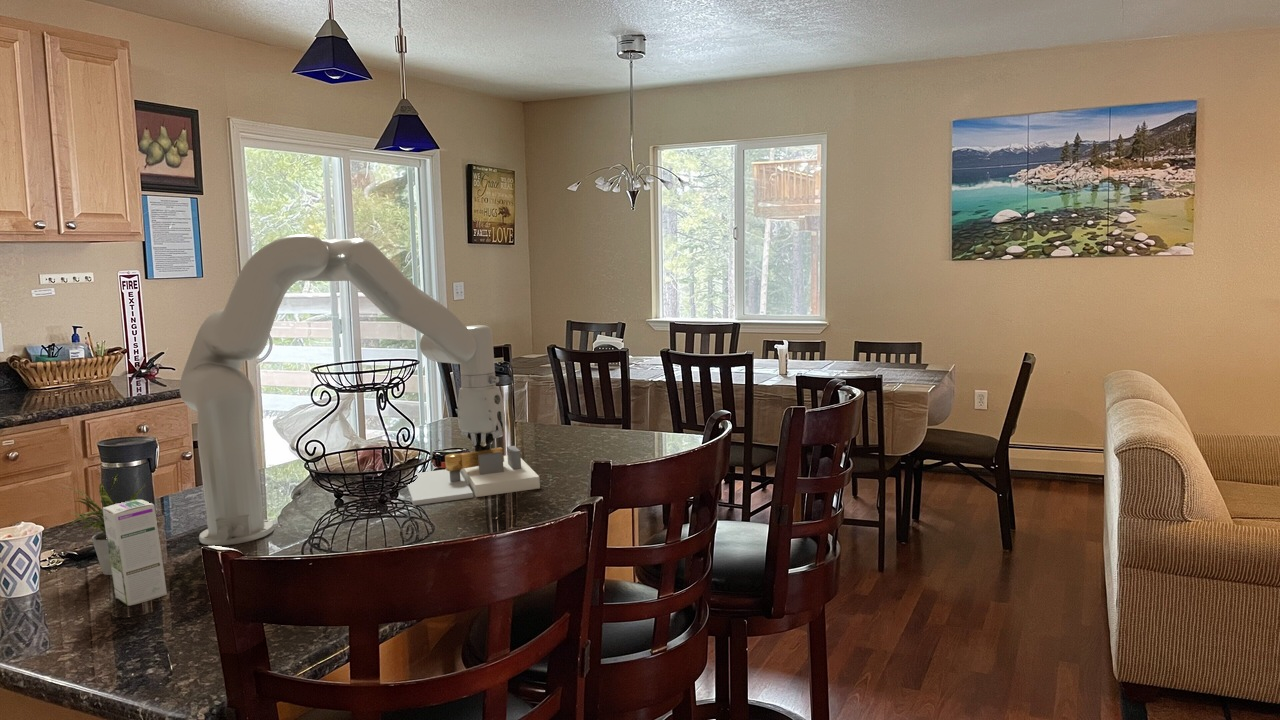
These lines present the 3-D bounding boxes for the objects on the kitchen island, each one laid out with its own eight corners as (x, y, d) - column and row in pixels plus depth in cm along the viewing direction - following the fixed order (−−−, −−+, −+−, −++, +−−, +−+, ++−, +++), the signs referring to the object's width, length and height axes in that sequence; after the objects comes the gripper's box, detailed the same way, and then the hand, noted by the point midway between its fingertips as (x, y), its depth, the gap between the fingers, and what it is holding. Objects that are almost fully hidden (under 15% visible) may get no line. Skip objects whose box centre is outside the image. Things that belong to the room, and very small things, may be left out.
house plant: (56, 571, 149) (43, 476, 147) (146, 549, 158) (135, 459, 156) (78, 591, 138) (65, 489, 137) (173, 565, 148) (161, 470, 146)
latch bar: (448, 472, 189) (447, 458, 189) (444, 468, 192) (442, 455, 192) (505, 462, 195) (504, 449, 195) (500, 459, 198) (499, 446, 198)
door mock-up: (540, 488, 186) (538, 458, 185) (413, 505, 177) (410, 474, 177) (517, 464, 208) (515, 437, 207) (404, 478, 200) (401, 450, 199)
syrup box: (168, 594, 135) (157, 502, 133) (126, 607, 131) (113, 512, 129) (154, 586, 139) (143, 497, 137) (112, 599, 134) (100, 506, 133)
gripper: (516, 379, 196) (520, 460, 198) (461, 378, 202) (466, 456, 204) (496, 384, 189) (501, 468, 191) (440, 383, 196) (446, 464, 198)
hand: (483, 462), depth 198 cm, fingers closed
